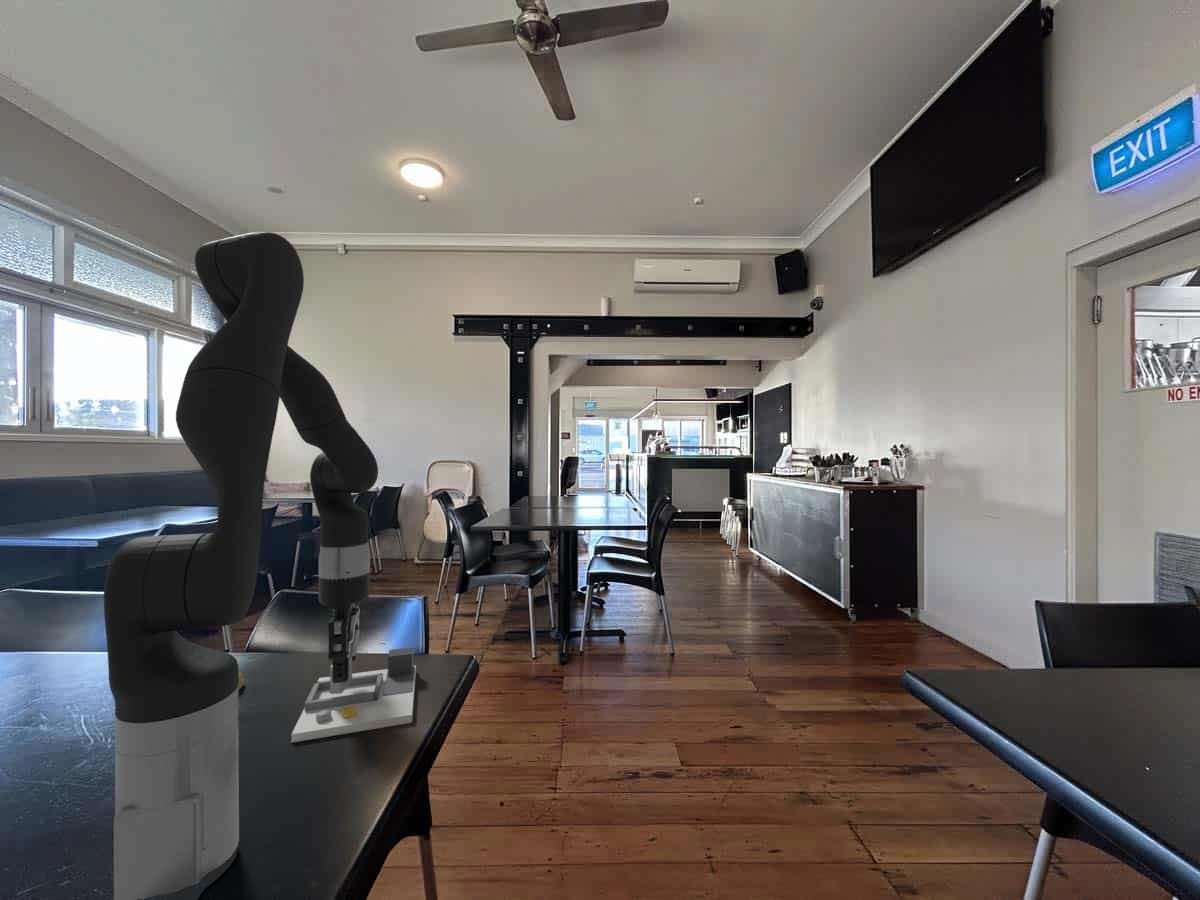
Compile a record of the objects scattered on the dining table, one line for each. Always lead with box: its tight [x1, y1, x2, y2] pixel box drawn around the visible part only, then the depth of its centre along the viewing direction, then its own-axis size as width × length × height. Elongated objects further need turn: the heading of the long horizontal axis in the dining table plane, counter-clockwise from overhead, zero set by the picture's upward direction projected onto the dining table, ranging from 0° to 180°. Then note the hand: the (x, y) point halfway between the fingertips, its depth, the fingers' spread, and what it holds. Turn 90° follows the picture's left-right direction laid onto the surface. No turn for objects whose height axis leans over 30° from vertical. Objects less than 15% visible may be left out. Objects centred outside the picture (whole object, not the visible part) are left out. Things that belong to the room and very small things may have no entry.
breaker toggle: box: [387, 647, 414, 676], centre depth 89 cm, size 3×4×4 cm
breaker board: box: [290, 664, 417, 744], centre depth 81 cm, size 18×16×2 cm
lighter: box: [329, 628, 361, 694], centre depth 81 cm, size 7×2×8 cm, turn 3°
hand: (344, 670), depth 81 cm, fingers closed on lighter, 7 cm apart
